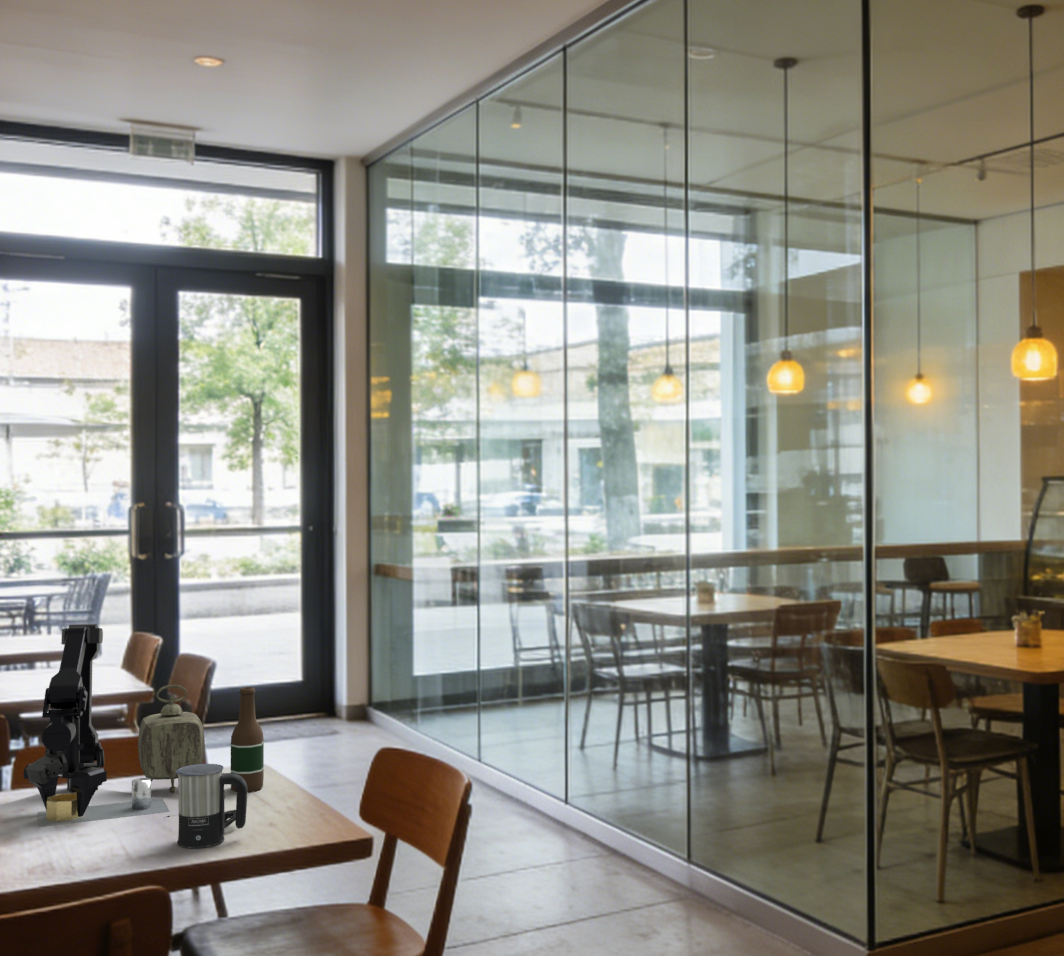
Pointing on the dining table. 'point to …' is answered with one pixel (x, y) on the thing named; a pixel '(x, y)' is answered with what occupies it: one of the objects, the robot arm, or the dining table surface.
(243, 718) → the beer bottle
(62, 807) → the brass ring
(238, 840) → the dining table surface
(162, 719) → the tabletop clock
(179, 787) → the milk frother
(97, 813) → the fit board
